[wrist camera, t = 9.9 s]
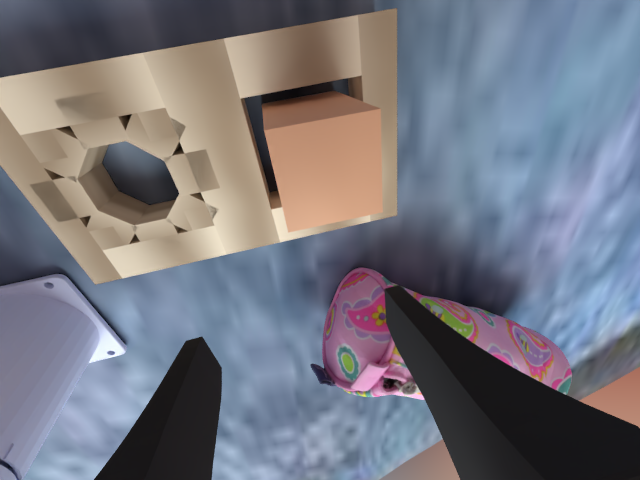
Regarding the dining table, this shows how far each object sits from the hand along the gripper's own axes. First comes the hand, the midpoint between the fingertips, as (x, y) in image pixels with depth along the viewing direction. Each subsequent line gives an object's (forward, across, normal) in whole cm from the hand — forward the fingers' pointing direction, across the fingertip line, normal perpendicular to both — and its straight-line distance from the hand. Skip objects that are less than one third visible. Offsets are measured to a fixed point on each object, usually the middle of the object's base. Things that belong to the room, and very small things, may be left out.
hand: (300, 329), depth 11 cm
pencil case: (+10, -10, +13) cm, 19 cm away
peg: (+9, -2, -5) cm, 11 cm away
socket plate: (+9, +2, -5) cm, 11 cm away
